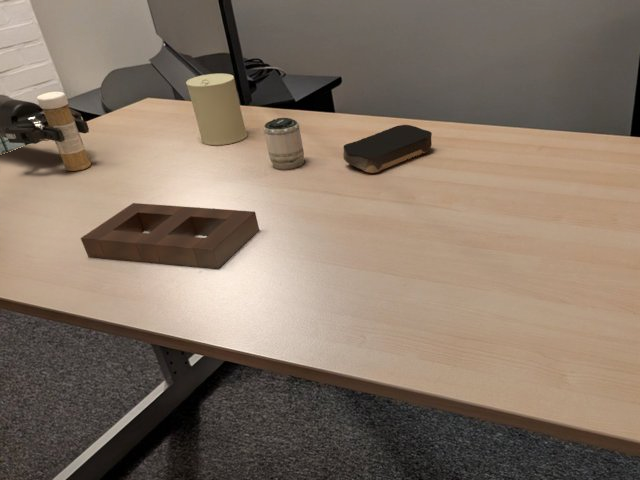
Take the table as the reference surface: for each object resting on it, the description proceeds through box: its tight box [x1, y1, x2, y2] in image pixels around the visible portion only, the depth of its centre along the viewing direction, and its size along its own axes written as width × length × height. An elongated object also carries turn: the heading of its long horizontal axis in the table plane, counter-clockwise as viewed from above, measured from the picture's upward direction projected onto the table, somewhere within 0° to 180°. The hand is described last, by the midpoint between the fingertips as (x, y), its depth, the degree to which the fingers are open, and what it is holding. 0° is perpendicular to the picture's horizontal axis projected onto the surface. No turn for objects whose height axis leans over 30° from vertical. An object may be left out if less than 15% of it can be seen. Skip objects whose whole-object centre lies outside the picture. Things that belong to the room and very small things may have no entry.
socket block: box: [80, 202, 260, 270], centre depth 95 cm, size 21×12×3 cm, turn 76°
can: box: [185, 73, 248, 146], centre depth 130 cm, size 9×9×12 cm
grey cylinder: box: [262, 117, 305, 170], centre depth 118 cm, size 6×6×8 cm
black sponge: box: [343, 124, 433, 174], centre depth 119 cm, size 16×8×4 cm, turn 136°
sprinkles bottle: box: [36, 91, 92, 172], centre depth 119 cm, size 5×5×13 cm
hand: (73, 131), depth 118 cm, fingers closed on sprinkles bottle, 4 cm apart
